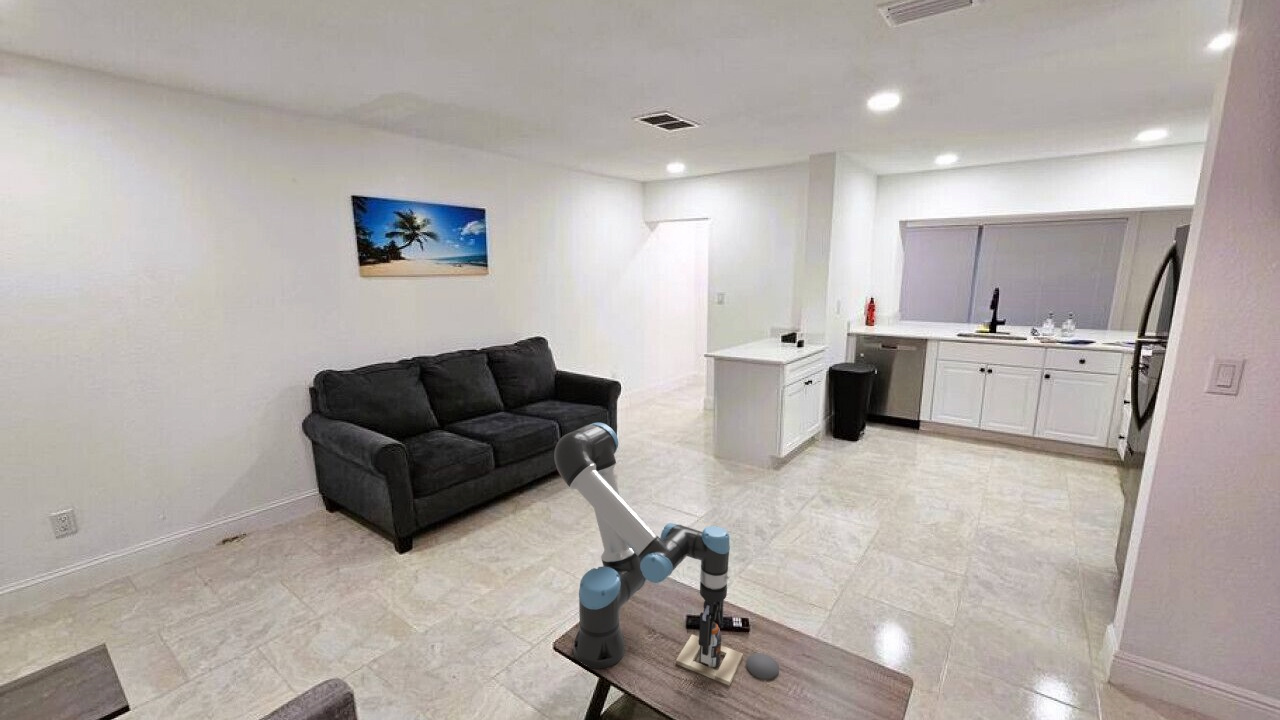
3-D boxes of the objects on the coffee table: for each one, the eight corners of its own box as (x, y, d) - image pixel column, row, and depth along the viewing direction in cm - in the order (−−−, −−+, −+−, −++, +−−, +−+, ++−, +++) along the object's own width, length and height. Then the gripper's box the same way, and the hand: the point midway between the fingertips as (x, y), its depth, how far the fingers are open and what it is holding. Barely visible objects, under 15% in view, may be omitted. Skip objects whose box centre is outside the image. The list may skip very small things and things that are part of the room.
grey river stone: (742, 671, 146) (742, 669, 145) (751, 651, 153) (751, 648, 153) (774, 684, 141) (774, 681, 141) (781, 662, 149) (782, 660, 149)
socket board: (675, 663, 148) (675, 660, 148) (691, 637, 158) (692, 634, 158) (729, 685, 141) (729, 682, 140) (742, 657, 151) (743, 653, 151)
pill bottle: (719, 670, 146) (721, 634, 144) (698, 666, 147) (700, 631, 145) (720, 654, 152) (722, 620, 150) (700, 651, 153) (701, 617, 151)
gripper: (714, 605, 135) (710, 682, 139) (737, 568, 151) (732, 638, 156) (688, 596, 138) (684, 672, 143) (712, 561, 155) (709, 630, 159)
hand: (709, 654), depth 149 cm, fingers closed on pill bottle, 6 cm apart
